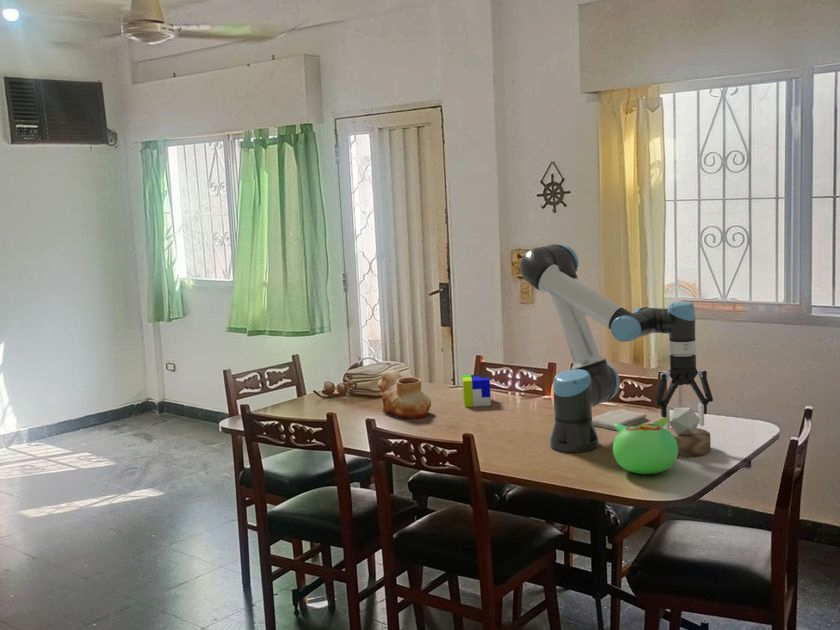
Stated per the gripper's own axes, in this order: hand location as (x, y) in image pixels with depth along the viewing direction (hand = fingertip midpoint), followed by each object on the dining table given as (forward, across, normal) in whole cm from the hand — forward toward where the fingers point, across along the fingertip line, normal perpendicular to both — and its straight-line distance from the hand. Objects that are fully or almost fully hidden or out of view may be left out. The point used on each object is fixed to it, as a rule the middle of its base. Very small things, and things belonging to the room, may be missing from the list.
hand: (684, 426), depth 276 cm
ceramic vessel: (+8, -82, +71) cm, 109 cm away
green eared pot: (+8, -17, -16) cm, 25 cm away
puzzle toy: (+8, -54, +76) cm, 94 cm away
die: (+2, 0, 0) cm, 2 cm away
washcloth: (+8, -10, +35) cm, 37 cm away
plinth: (+7, 0, 0) cm, 7 cm away
